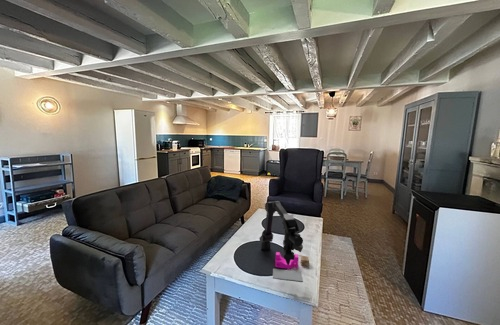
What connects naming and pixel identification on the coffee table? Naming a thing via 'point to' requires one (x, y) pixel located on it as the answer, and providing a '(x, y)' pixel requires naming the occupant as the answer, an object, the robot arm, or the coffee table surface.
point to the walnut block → (304, 260)
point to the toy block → (282, 263)
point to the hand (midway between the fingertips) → (287, 261)
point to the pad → (287, 275)
